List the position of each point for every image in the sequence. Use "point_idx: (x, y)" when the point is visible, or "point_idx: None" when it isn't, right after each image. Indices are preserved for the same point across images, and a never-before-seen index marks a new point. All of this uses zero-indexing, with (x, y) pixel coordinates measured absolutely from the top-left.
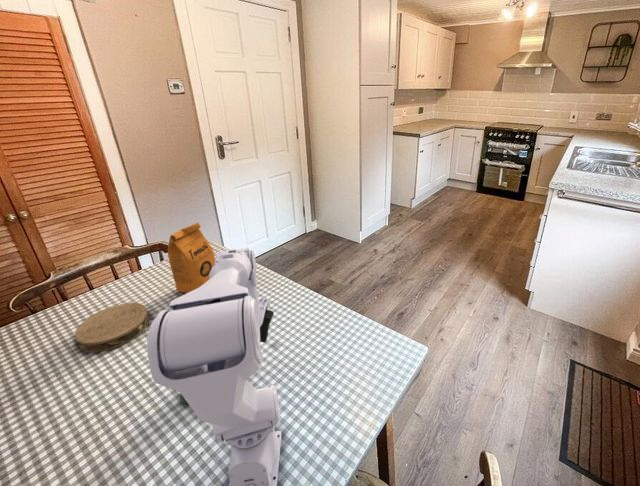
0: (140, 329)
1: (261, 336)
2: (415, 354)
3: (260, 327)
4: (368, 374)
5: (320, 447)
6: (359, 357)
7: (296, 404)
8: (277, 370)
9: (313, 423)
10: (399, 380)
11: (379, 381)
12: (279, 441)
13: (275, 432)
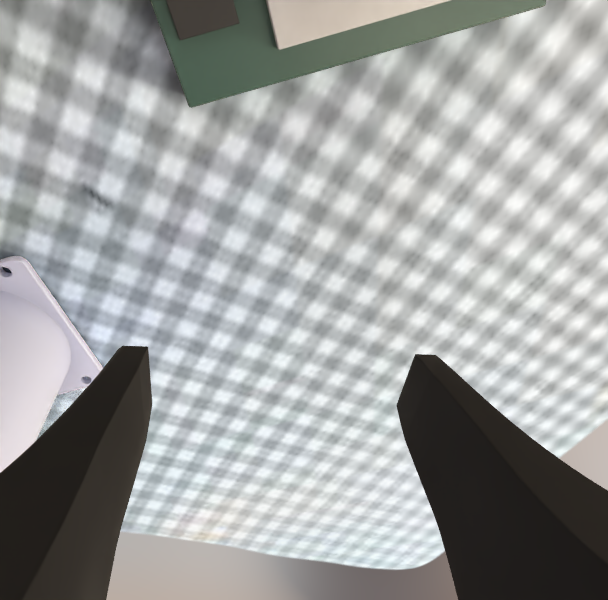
0: None
1: (425, 430)
2: (410, 564)
3: (471, 527)
4: (348, 505)
5: None
6: (410, 478)
7: (220, 379)
8: (362, 264)
9: (169, 437)
10: (332, 553)
11: (327, 526)
12: (70, 388)
13: (92, 368)
